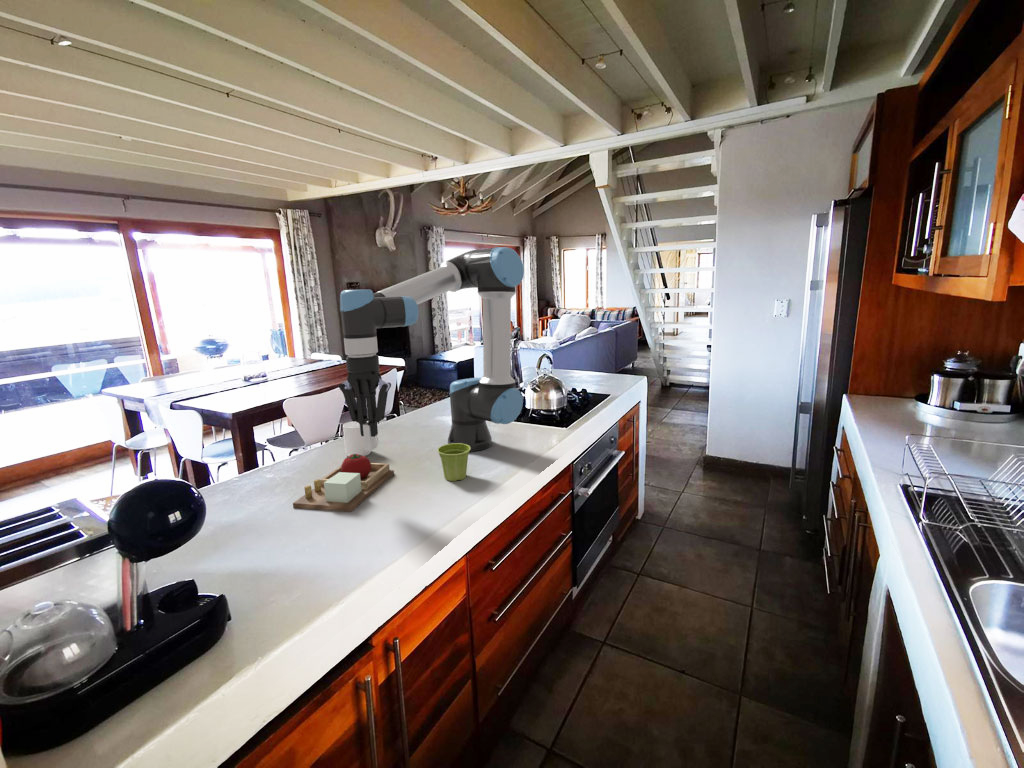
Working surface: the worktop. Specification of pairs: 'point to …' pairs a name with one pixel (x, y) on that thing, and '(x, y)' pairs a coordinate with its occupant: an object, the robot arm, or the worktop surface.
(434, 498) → the worktop surface
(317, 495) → the housing base
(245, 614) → the worktop surface
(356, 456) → the tomato
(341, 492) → the block
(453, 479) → the plant pot
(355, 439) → the mug
